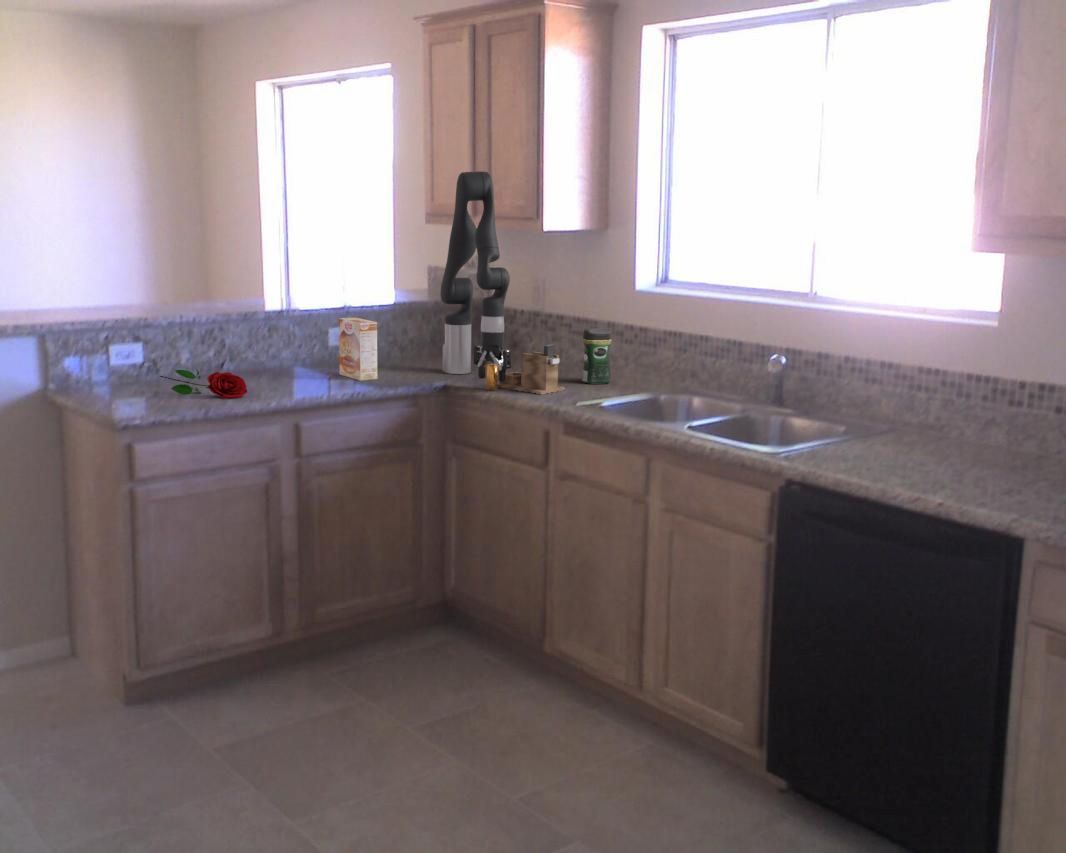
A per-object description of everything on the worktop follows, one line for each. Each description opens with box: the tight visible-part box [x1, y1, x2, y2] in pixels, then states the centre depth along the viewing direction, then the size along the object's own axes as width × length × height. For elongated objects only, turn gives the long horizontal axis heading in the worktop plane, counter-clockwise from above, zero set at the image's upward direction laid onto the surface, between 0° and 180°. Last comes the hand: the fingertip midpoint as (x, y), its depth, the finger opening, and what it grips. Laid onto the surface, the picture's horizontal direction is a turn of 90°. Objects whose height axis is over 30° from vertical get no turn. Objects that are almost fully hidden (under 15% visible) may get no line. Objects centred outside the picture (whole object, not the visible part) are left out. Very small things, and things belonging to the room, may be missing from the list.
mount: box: [497, 351, 566, 395], centre depth 370 cm, size 22×12×12 cm, turn 50°
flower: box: [159, 367, 248, 399], centre depth 346 cm, size 9×9×30 cm
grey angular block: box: [533, 344, 561, 364], centre depth 365 cm, size 12×3×6 cm, turn 50°
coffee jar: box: [581, 327, 612, 385], centre depth 383 cm, size 10×8×19 cm
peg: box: [485, 363, 499, 391], centre depth 367 cm, size 4×4×8 cm
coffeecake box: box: [338, 317, 378, 381], centre depth 383 cm, size 15×7×20 cm, turn 37°
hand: (491, 379), depth 367 cm, fingers open, 8 cm apart
